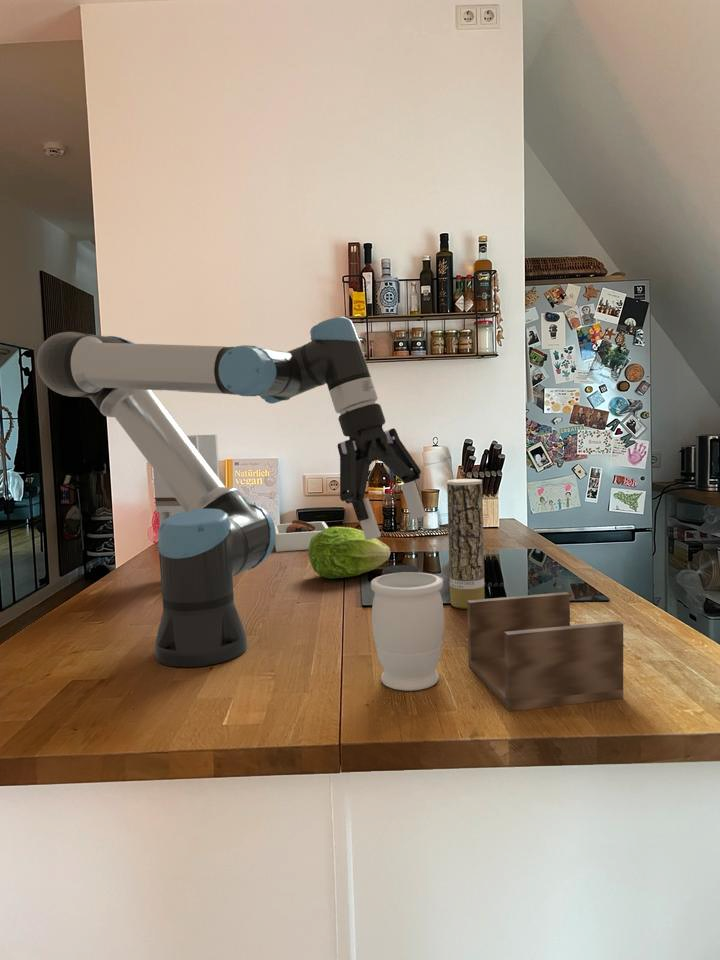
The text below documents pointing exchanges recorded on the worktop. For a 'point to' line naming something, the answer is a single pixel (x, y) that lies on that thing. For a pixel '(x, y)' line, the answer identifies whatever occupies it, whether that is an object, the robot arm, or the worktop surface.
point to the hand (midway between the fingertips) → (397, 527)
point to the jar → (408, 628)
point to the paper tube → (465, 541)
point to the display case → (163, 496)
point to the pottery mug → (299, 527)
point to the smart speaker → (400, 569)
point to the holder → (543, 652)
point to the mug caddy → (295, 537)
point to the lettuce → (345, 553)
